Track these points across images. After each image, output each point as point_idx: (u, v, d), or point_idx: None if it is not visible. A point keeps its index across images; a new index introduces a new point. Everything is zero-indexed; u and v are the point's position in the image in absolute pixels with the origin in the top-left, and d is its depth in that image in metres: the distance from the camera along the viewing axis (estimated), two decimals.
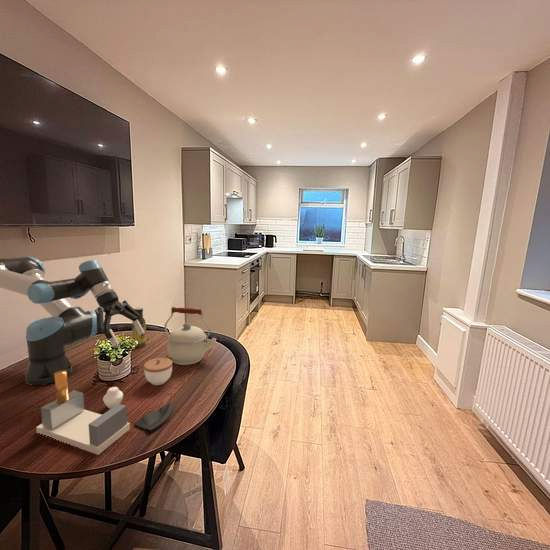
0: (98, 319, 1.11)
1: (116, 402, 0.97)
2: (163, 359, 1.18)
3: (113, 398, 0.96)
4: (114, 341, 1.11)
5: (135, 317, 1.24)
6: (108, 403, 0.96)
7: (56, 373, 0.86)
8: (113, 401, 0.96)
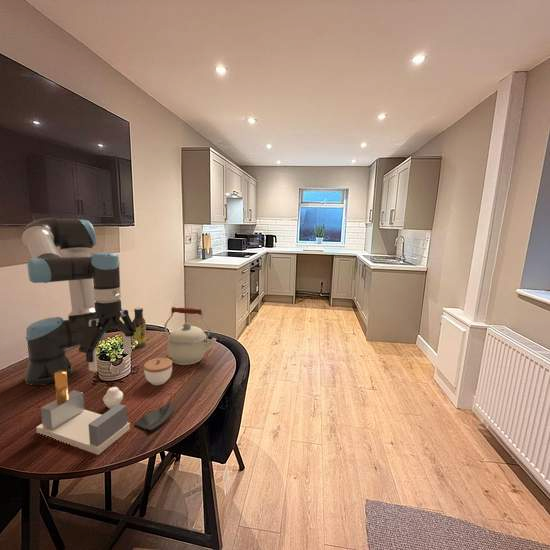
0: (86, 335, 0.87)
1: (116, 402, 0.97)
2: (163, 359, 1.18)
3: (113, 398, 0.96)
4: (93, 366, 0.90)
5: (129, 333, 1.02)
6: (108, 403, 0.96)
7: (56, 373, 0.86)
8: (113, 401, 0.96)
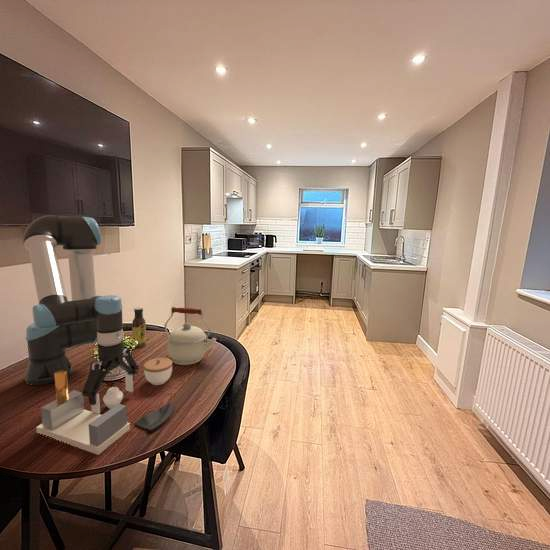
0: (89, 379, 0.89)
1: (116, 402, 0.97)
2: (163, 359, 1.18)
3: (113, 398, 0.96)
4: (96, 409, 0.92)
5: (131, 371, 1.04)
6: (108, 403, 0.96)
7: (56, 373, 0.86)
8: (113, 401, 0.96)
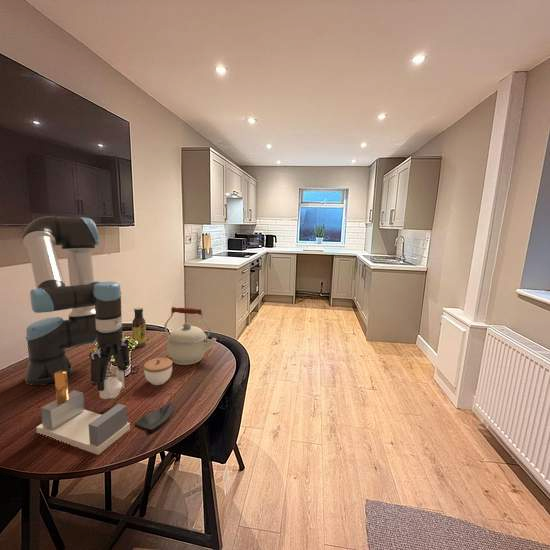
0: (93, 368, 0.91)
1: (115, 392, 0.97)
2: (163, 359, 1.18)
3: (112, 388, 0.96)
4: (104, 394, 0.95)
5: (123, 366, 1.01)
6: None
7: (56, 373, 0.86)
8: (112, 391, 0.96)
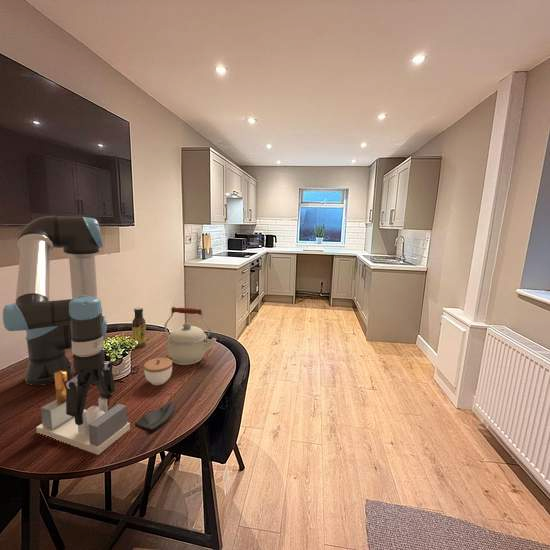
0: (69, 399, 0.77)
1: None
2: (163, 359, 1.18)
3: (93, 420, 0.83)
4: (83, 429, 0.81)
5: (106, 394, 0.87)
6: (87, 426, 0.82)
7: (56, 373, 0.86)
8: None
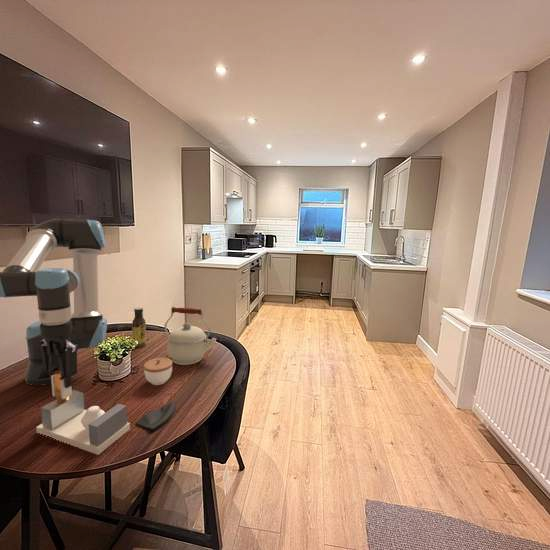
0: None
1: None
2: (163, 359, 1.18)
3: (93, 420, 0.83)
4: None
5: (61, 373, 0.85)
6: (87, 426, 0.82)
7: (56, 373, 0.86)
8: None
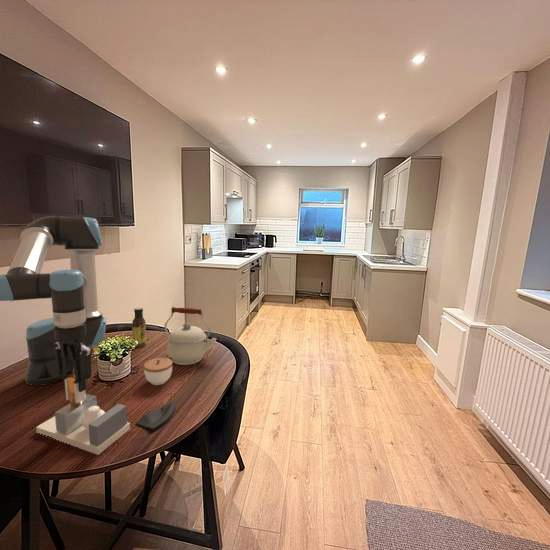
0: None
1: None
2: (163, 359, 1.18)
3: (93, 420, 0.83)
4: None
5: (76, 377, 0.83)
6: (87, 426, 0.82)
7: (70, 377, 0.84)
8: None
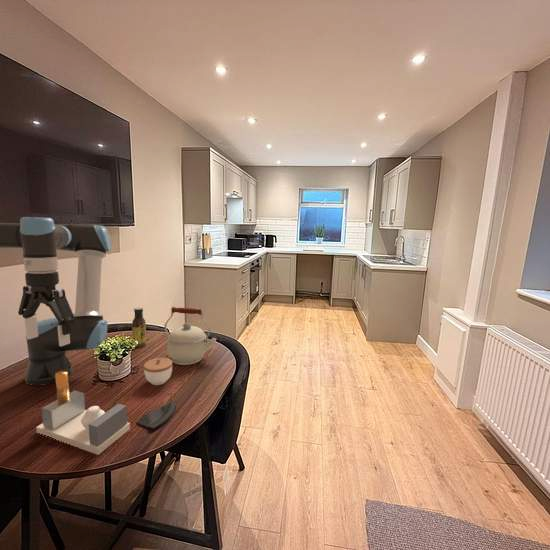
0: None
1: None
2: (163, 359, 1.18)
3: (93, 420, 0.83)
4: None
5: (58, 320, 0.82)
6: (87, 426, 0.82)
7: (57, 373, 0.86)
8: None
